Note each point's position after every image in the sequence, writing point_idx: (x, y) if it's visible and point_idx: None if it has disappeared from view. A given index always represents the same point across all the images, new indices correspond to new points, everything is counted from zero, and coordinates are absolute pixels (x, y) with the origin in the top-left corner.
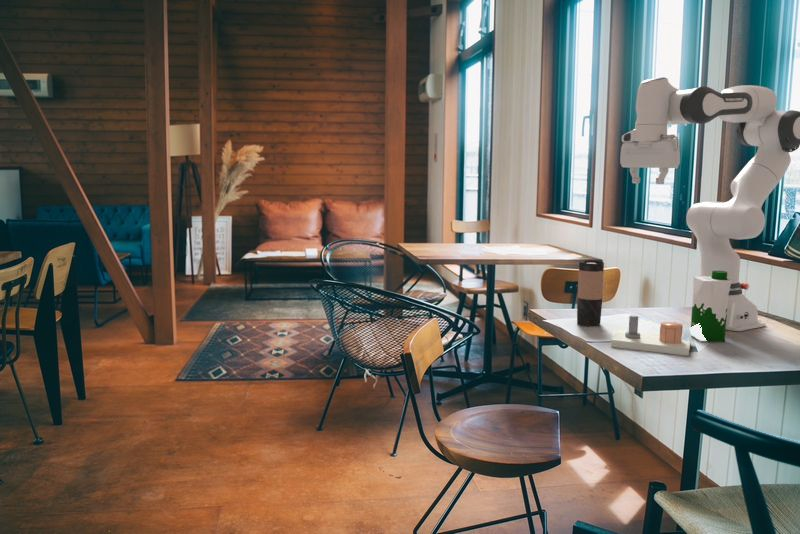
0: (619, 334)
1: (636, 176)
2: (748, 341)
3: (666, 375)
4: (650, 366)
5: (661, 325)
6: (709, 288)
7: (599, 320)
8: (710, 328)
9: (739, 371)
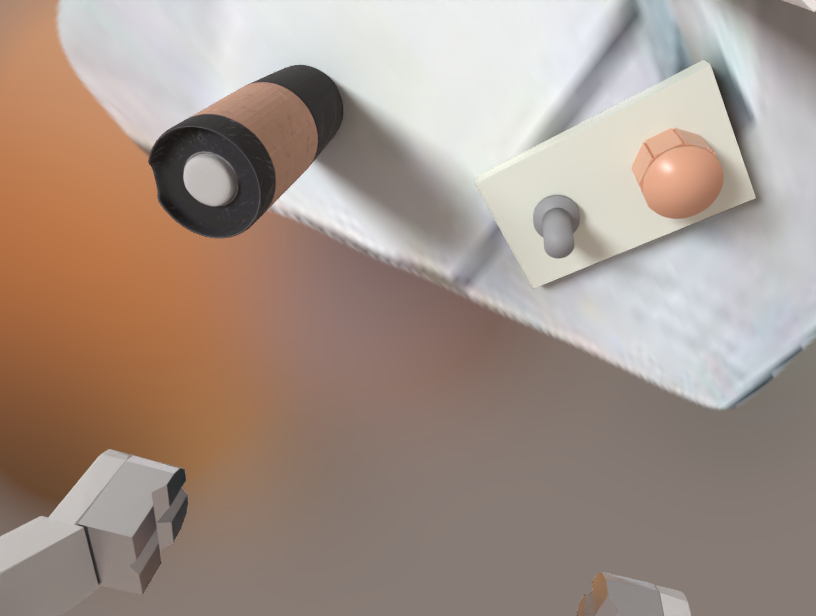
0: (511, 221)
1: (77, 559)
2: None
3: (764, 377)
4: (703, 347)
5: (654, 210)
6: None
7: (336, 100)
8: None
9: None
